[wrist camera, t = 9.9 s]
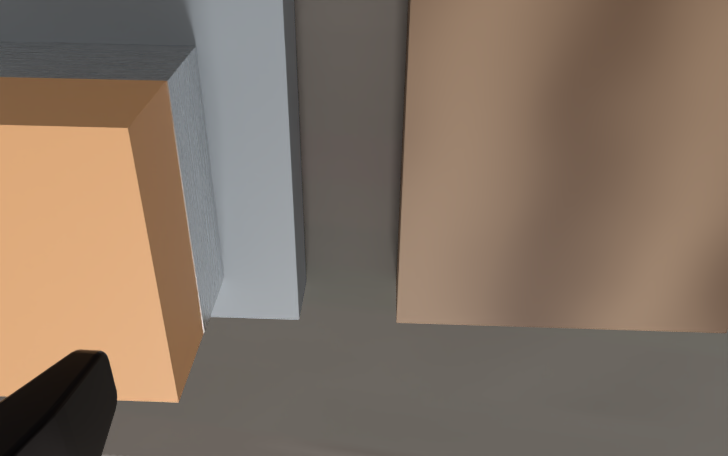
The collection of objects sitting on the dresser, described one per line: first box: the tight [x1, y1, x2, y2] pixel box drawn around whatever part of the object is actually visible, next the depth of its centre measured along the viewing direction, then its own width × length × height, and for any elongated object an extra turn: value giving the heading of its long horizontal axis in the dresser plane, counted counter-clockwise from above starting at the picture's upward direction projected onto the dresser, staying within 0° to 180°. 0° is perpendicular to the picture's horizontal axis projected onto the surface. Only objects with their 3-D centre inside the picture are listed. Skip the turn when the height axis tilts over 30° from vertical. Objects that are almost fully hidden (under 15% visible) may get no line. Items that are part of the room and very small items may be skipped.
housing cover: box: [0, 77, 203, 402], centre depth 16 cm, size 7×6×2 cm
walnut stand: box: [396, 0, 728, 333], centre depth 19 cm, size 10×10×2 cm
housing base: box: [0, 41, 224, 333], centre depth 18 cm, size 7×6×2 cm
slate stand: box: [0, 0, 306, 320], centre depth 20 cm, size 10×10×2 cm
